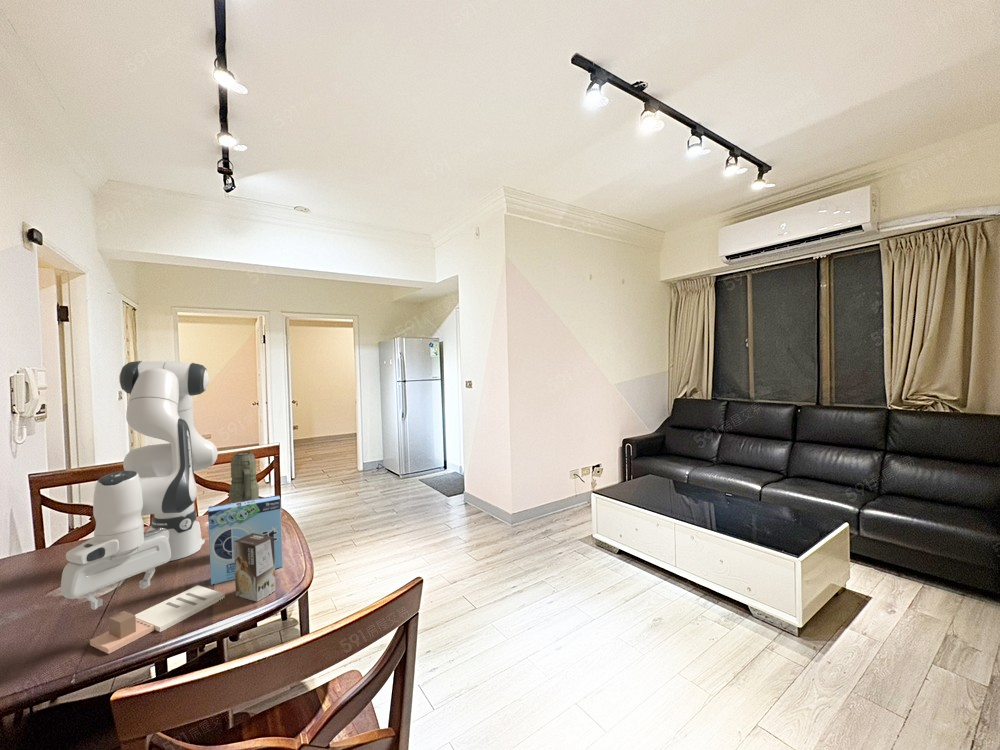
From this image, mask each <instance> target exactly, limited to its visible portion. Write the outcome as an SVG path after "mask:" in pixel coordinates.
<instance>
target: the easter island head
mask: <svg viewBox="0 0 1000 750" xmlns="http://www.w3.org/2000/svg"><path fill="white" fill-rule="evenodd" d="M230 478H231V481H230V486H229V490H228V491H229V493H228V494H229V503H235V502H241V501H247V500H253V499H259V498H260V496H259V495H260V492H259V483H258V480H257V459H256V458H255V455H254V453H253V452H250V451H244V452H238V453H237V452H236V453H235V454H234V455H233V456H232V458H231V461H230Z"/></svg>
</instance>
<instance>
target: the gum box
mask: <svg viewBox="0 0 1000 750" xmlns="http://www.w3.org/2000/svg"><path fill="white" fill-rule="evenodd" d="M281 501H282V500H281V497H280V495H279V494H275V495H271V496H267V497H259V499H253V500H247V501H241V502H235V503H230V502H229V503H226V504H225V503H223V504H219V505H218V504H217V505H211V506H208V508H207V511H208V512H207V514H208V515H207V517H208V520H207V521H208V542H209V543H208V544H209V567H210V568H209V569H210V571H209V572H210V585H211V586H213V584H214V585H217V584H220V583H224V582H229V581H233V580H235V558H234V541H236V540H238V539H240V538H242V537H244V536H247V535H249V534H252V533H255V534H260V535H265V536H270V537H274V555H275V570H276V569H280V568H283V567H284V565H283V540H282V539H283V538H282V508H281V507H282V506H281V505H282V504H281Z"/></svg>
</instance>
